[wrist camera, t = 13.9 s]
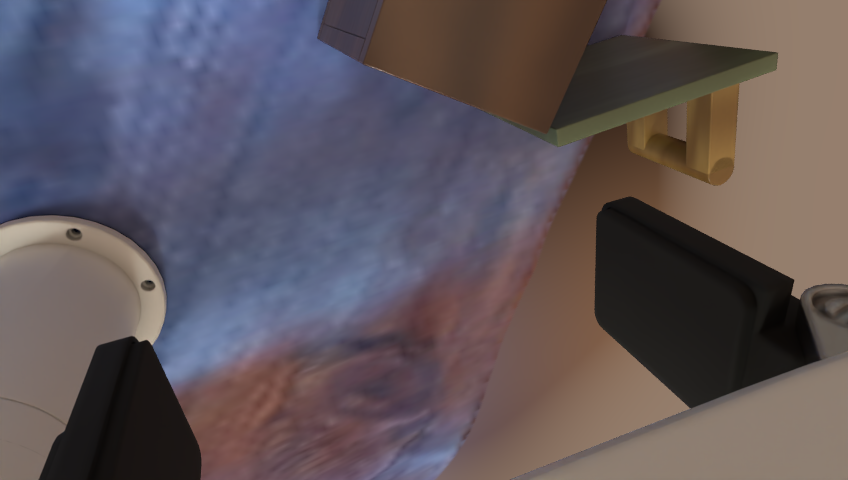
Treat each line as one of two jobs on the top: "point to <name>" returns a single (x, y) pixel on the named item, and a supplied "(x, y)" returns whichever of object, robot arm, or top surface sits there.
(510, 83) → the cupboard
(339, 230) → the top surface
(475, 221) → the top surface
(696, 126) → the door
